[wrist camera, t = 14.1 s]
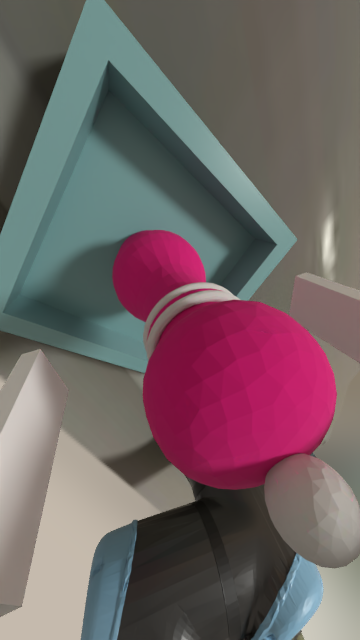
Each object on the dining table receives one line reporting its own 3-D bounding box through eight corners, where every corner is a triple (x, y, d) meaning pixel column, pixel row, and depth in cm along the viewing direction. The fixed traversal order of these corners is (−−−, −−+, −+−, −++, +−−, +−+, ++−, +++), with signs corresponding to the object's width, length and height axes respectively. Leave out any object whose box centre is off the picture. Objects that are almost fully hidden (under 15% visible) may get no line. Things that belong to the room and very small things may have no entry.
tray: (170, 359, 28) (180, 383, 25) (-4, 296, 18) (-32, 321, 15) (267, 233, 23) (297, 239, 19) (96, 46, 13) (91, -15, 9)
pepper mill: (96, 275, 19) (39, 758, 3) (137, 205, 17) (793, 342, 1) (158, 308, 23) (294, 591, 6) (197, 254, 21) (526, 452, 5)
